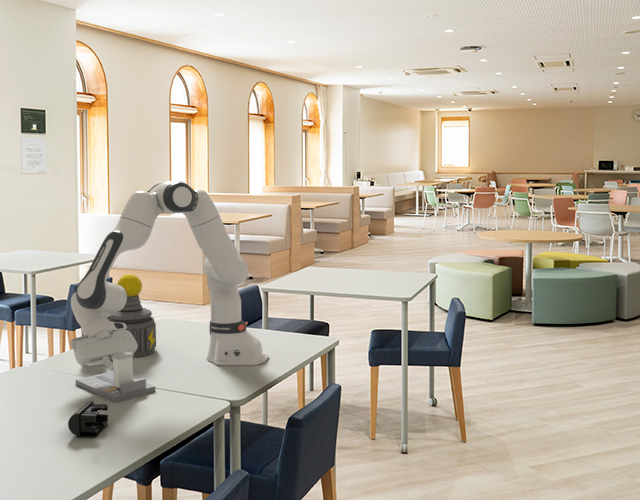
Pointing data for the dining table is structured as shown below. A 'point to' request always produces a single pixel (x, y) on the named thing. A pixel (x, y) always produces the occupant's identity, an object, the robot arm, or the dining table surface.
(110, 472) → the dining table surface
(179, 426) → the dining table surface
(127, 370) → the fader tab
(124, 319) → the decorative lamp
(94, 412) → the end cap
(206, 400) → the dining table surface
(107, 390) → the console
